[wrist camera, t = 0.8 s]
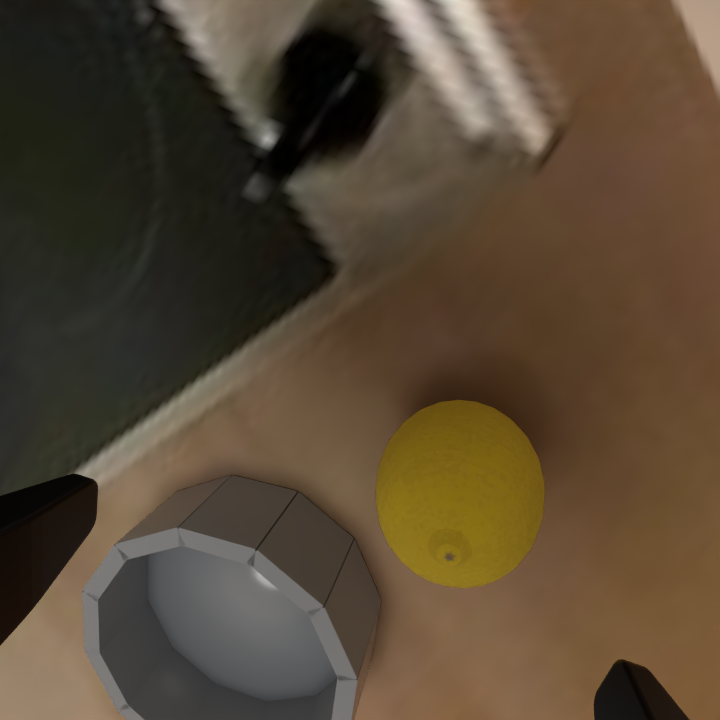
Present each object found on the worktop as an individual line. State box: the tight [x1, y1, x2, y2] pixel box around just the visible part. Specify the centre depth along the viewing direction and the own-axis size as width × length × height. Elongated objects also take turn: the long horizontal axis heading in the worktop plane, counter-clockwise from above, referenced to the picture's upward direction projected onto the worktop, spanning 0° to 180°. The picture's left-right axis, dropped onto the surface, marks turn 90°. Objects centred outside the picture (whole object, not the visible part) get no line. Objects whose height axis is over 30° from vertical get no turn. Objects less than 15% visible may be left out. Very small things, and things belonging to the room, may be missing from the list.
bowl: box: [82, 475, 381, 720], centre depth 24 cm, size 13×13×4 cm
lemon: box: [376, 400, 545, 588], centre depth 18 cm, size 6×6×8 cm
